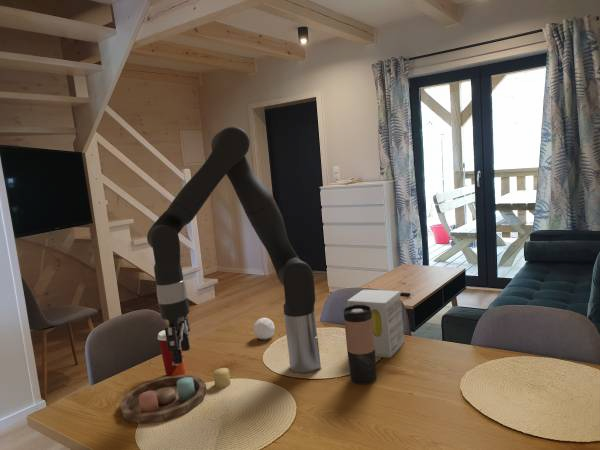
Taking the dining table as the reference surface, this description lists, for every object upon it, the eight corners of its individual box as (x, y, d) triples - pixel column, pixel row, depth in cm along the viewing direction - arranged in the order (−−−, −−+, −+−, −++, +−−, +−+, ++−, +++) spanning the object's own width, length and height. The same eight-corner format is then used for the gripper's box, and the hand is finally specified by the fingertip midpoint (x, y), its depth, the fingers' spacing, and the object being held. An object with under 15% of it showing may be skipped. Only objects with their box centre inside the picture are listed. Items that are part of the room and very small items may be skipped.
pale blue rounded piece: (197, 393, 125) (194, 376, 124) (193, 401, 121) (191, 383, 120) (181, 395, 125) (178, 378, 124) (177, 403, 121) (174, 385, 120)
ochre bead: (231, 383, 131) (229, 367, 131) (229, 390, 127) (227, 373, 126) (216, 385, 131) (214, 368, 131) (214, 392, 127) (211, 375, 126)
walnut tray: (212, 381, 134) (211, 371, 134) (196, 421, 112) (195, 410, 112) (138, 389, 134) (137, 379, 133) (109, 431, 112) (107, 420, 112)
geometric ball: (260, 345, 166) (250, 326, 169) (279, 334, 167) (269, 315, 170) (258, 342, 159) (247, 322, 162) (278, 330, 160) (267, 311, 163)
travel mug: (380, 373, 127) (374, 305, 125) (373, 386, 120) (366, 314, 118) (354, 371, 130) (348, 304, 128) (346, 383, 123) (339, 313, 121)
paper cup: (181, 379, 137) (174, 335, 136) (158, 380, 139) (151, 336, 137) (192, 368, 145) (186, 326, 143) (170, 368, 146) (164, 327, 145)
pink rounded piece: (161, 407, 119) (158, 389, 119) (156, 416, 115) (153, 397, 114) (144, 409, 119) (141, 391, 119) (139, 418, 115) (136, 399, 114)
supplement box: (351, 353, 143) (345, 300, 141) (367, 338, 154) (362, 288, 152) (390, 358, 136) (386, 302, 134) (405, 342, 147) (400, 290, 145)
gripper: (180, 304, 112) (190, 365, 114) (192, 289, 127) (201, 344, 129) (150, 308, 112) (161, 369, 114) (166, 293, 127) (175, 348, 128)
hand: (182, 356), depth 121 cm, fingers open, 8 cm apart
